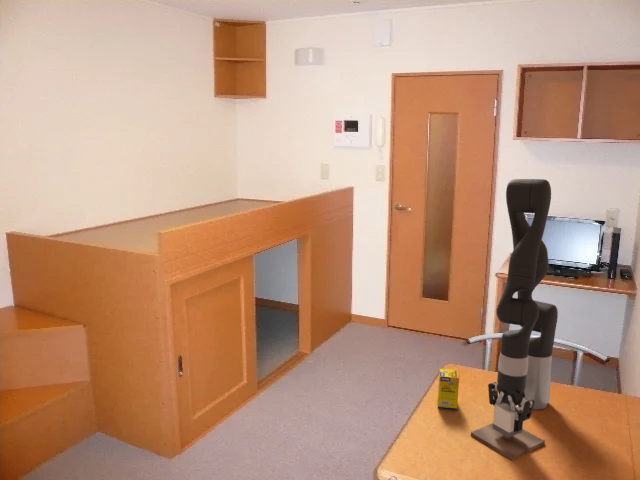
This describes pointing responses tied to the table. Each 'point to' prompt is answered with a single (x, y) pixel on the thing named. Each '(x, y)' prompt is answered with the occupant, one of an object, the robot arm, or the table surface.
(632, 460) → the table surface
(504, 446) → the pin plate
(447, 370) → the supplement box
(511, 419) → the sleeve
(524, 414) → the robot arm
